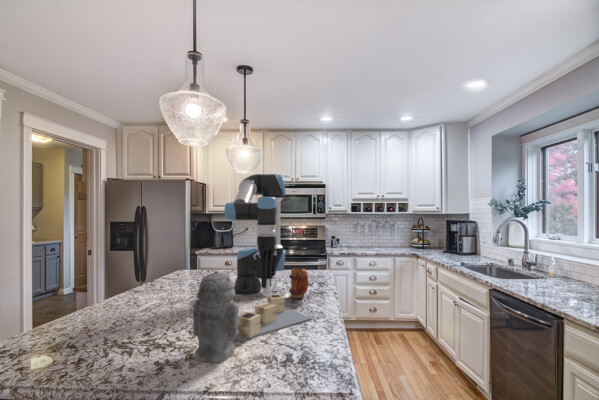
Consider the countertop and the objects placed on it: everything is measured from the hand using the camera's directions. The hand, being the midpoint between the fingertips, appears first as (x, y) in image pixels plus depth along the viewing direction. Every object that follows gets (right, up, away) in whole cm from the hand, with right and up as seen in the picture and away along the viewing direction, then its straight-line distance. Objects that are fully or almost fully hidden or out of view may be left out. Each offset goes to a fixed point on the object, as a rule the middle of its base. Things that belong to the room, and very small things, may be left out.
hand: (266, 295), depth 114 cm
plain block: (0, -10, 0) cm, 10 cm away
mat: (-1, -11, 0) cm, 11 cm away
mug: (+13, -12, +31) cm, 36 cm away
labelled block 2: (+3, -10, +12) cm, 16 cm away
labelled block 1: (-5, -9, -12) cm, 16 cm away
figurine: (-13, -10, -26) cm, 31 cm away
